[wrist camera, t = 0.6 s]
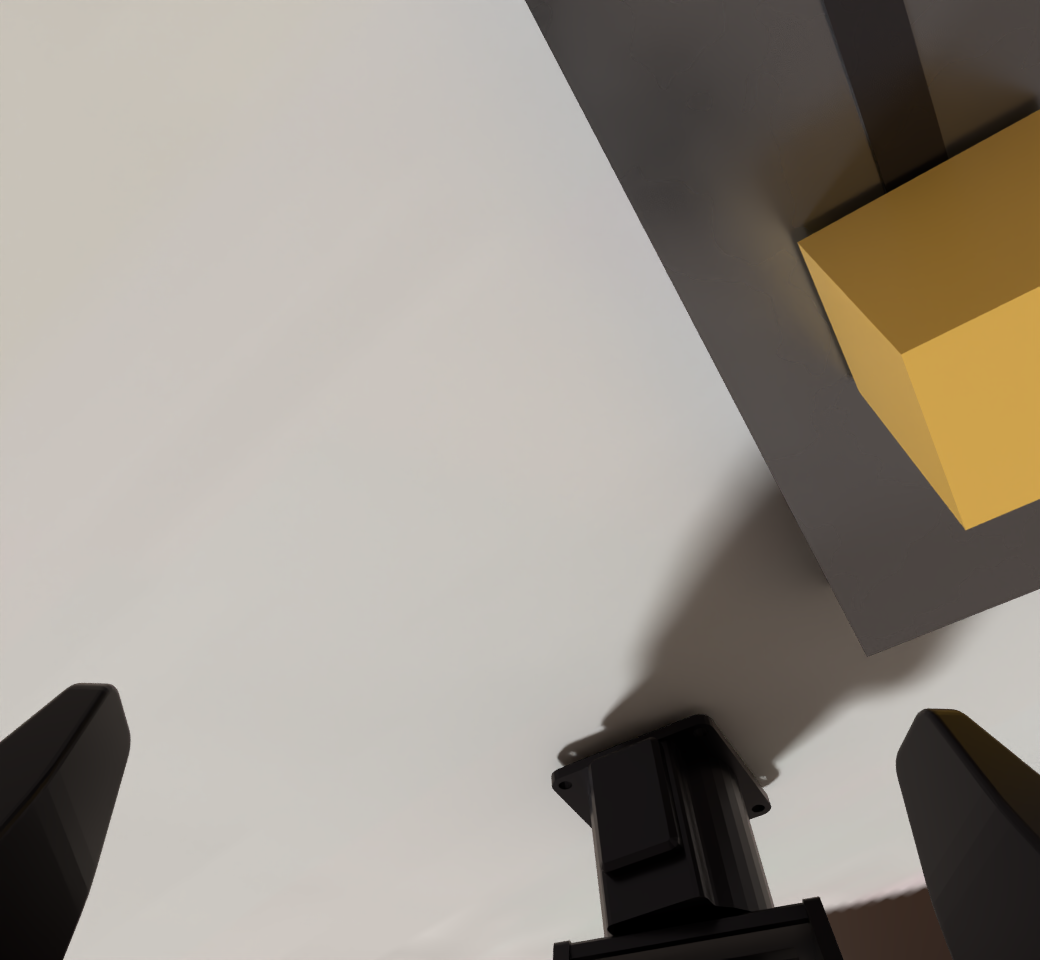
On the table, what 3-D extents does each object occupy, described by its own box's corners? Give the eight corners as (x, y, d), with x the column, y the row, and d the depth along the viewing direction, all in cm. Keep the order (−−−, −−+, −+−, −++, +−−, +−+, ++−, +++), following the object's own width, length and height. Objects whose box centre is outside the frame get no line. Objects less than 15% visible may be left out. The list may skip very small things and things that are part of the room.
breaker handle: (1091, 278, 17) (1283, 396, 13) (859, 391, 18) (966, 530, 14) (1056, 100, 15) (1269, 173, 11) (797, 242, 16) (901, 354, 12)
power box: (1164, 446, 24) (1246, 511, 21) (831, 586, 26) (868, 659, 24) (991, -581, 12) (1121, -705, 10) (446, -153, 15) (439, -165, 13)
